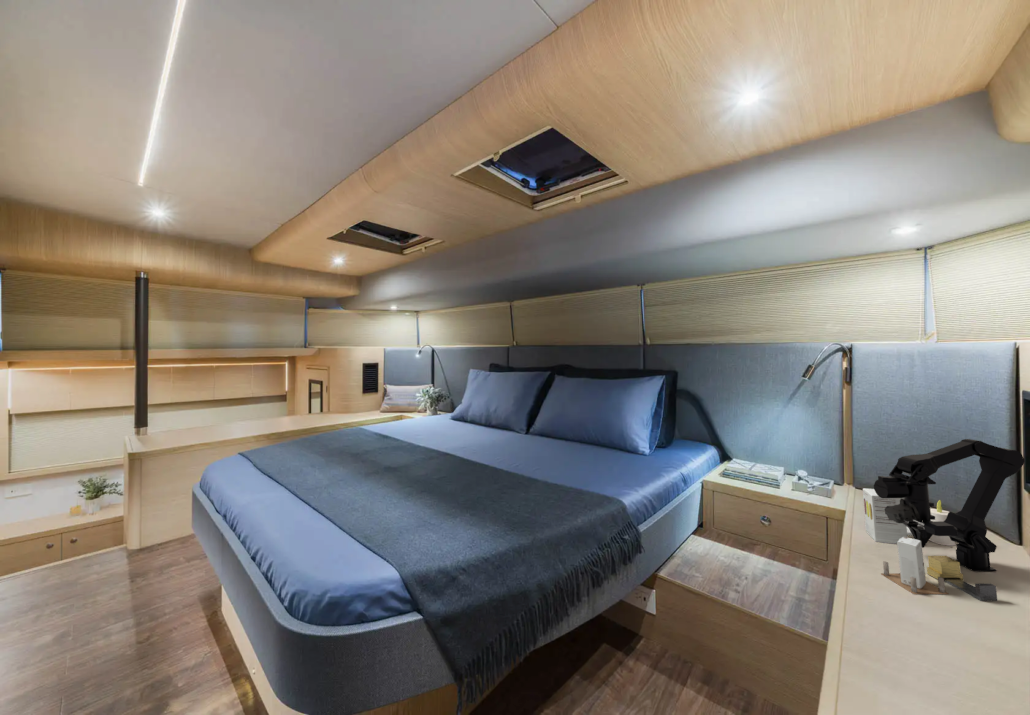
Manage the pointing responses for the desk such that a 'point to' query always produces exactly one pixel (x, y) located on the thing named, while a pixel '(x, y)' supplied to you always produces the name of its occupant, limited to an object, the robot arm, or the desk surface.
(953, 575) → the collar
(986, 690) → the desk surface
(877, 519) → the supplement box
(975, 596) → the rail
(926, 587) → the peg cradle
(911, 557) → the skincare box
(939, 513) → the candle
